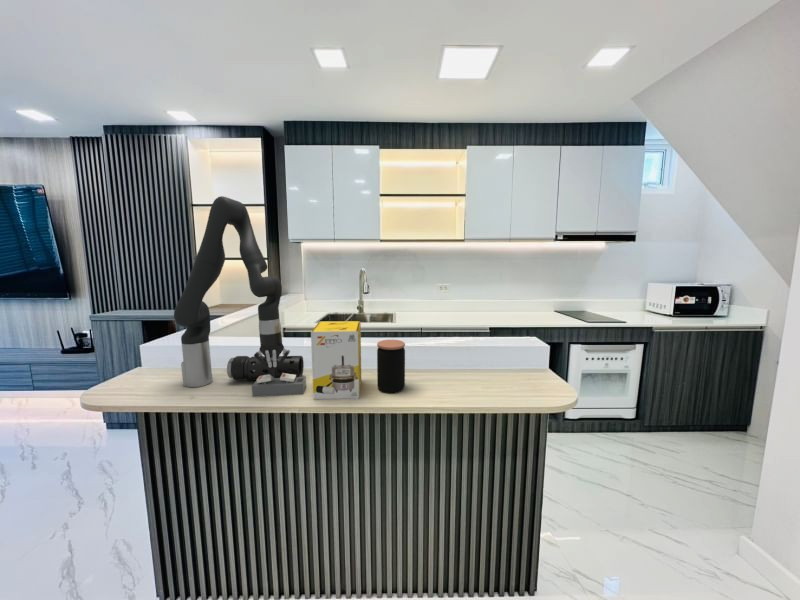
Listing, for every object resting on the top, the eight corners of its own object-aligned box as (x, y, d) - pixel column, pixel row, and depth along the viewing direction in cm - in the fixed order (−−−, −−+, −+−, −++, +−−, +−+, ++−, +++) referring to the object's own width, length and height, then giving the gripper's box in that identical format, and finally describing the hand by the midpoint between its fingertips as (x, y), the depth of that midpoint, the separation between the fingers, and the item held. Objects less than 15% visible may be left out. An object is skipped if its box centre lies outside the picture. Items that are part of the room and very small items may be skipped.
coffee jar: (409, 385, 131) (409, 341, 128) (397, 396, 121) (397, 348, 118) (385, 380, 135) (385, 338, 132) (372, 390, 126) (371, 345, 123)
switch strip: (252, 396, 120) (251, 385, 120) (258, 388, 127) (257, 377, 127) (303, 394, 123) (302, 382, 122) (306, 386, 130) (305, 375, 129)
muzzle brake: (298, 384, 132) (297, 359, 130) (226, 385, 130) (224, 360, 129) (304, 375, 141) (303, 352, 140) (237, 376, 140) (235, 353, 138)
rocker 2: (279, 379, 122) (280, 376, 122) (282, 375, 126) (282, 372, 126) (293, 382, 123) (294, 378, 123) (295, 377, 127) (296, 374, 127)
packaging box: (313, 399, 118) (310, 331, 114) (321, 381, 134) (319, 321, 130) (359, 398, 119) (357, 331, 115) (361, 380, 135) (360, 321, 131)
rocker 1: (257, 383, 121) (256, 379, 121) (260, 379, 125) (259, 375, 125) (271, 380, 122) (270, 377, 122) (273, 376, 126) (273, 373, 126)
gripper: (248, 334, 117) (252, 381, 119) (286, 332, 118) (290, 378, 121) (254, 329, 124) (258, 373, 127) (290, 327, 126) (294, 371, 128)
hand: (274, 375), depth 124 cm, fingers closed
